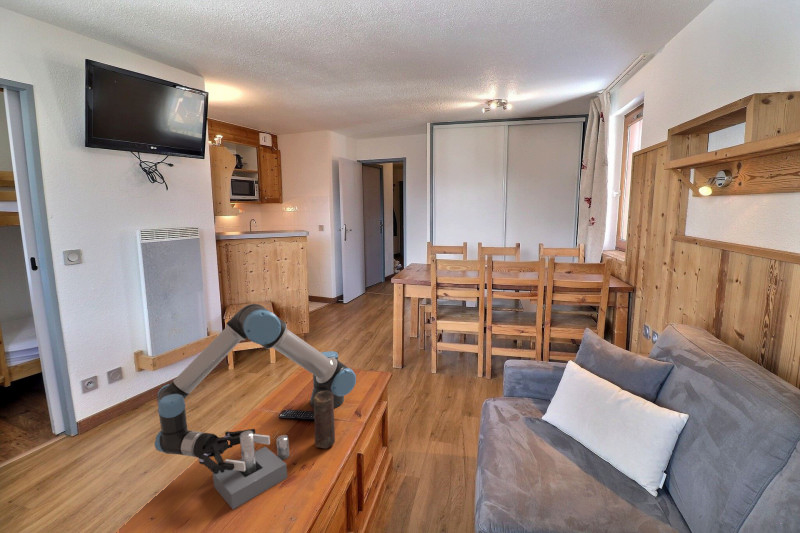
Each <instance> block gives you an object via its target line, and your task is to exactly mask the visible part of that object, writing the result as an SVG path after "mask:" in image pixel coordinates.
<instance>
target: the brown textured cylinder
mask: <svg viewBox="0 0 800 533" xmlns="http://www.w3.org/2000/svg"><path fill="white" fill-rule="evenodd" d="M313 414H314V417H313V418H314V421H313V422H314V445H315V447H317V448H320V449H321V448H322V449H328V448H330V447H331V446H333V445H334V444H335V442H336V430H335V408H334V401H333V393H332V392H330V391H320V392H318V393H317V394H316V395H315V397H314V408H313Z"/></svg>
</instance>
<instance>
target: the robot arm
mask: <svg viewBox="0 0 800 533" xmlns="http://www.w3.org/2000/svg"><path fill="white" fill-rule="evenodd" d="M247 339H248V340H249V341H251V342H252V343H255V344H257V345H259V346H260V347H261V346H262V348H264V349H265V350H269V349H274V350H275V351H277V352H278V353H280V354H282V355H283V356H284V357H286V358H288V359H289V360H290V361H293V362H294V363H295V364H297V365H298V366H300V367H301V368H302V369H304V370H305V371H307V372H309V373H310V374H312V384H313V387H312V388H313V389H312V392H311V396H310V405H311V407H312V408H313V409H314V397H315V395H316V394H317V393H318V392H320V391H330V392H332V393H333V401H334V409H335V408H337V407H340V406H341V405H342V404H343V403H344V401H345V396H346V395H349V394H350V393H351V392H352V391H353V389H354V388H355V386H356V383H357V375H356V373H355V372H354V371H353V369H352V368H349V367H348V366H347V365H345V364H344V363H343V362H341V361H340V360H339V354H338V352H336V351H334V350H333V351H332V350H329V351H327V350H326V351H321V352H320V350H318V349H317V348H315V347H314V346H312V345H310V344H309V343H307V341H305V340H303V339H302V338H301V337H299V336H298V335H297V334H295V333H294V332H292V331H291V330H289V329H288V326H287V323H286V322H285V321H284V320H282V319H281V318H280V317H279V316H277V315H276V314H275V313H274V312H272V311H270V310H268V309H267V308H265V306H263V305H261V304H257V303H250V304H246V305H244V307H242V308H241V309H239V310H238V311H237V312H236V313H235V314H234V315H233V316H232V317H231V318H230V319H229V320H228V321H227V322H226V323H225V327H224V329H222V331H221V332H220V333H219V334H218V335H217V336H216V337H215V338H214V339H213V340H212V341H211V342H210V343H209V344H208V345H207V346H206V347H205V348H204V349H203V350H202V351H201V352H200V353H199V354H198V355H197V357H195V358H194V359H193V360H192V361H191V362H190V363H189V364H188V365H187V366H186V367H185V368H184V370H182V372H180V374H179V375H177V377H176V378H175V379H174V380H172V381H171V383H169V384H166V385H164V386H162V387H161V388H160V389H159V390H158V392H157V397H156V398H157V399H156V402H157V410H158V416H159V422H160V423H159V424H160V430H159V432H158V433H157V434H156V436H155V441H154V448H155V449H156V451H158V452H161V453H165V454H168V455H169V454H170V455H171V454H172V455H181V456H187V457H193V458H197V459H198V462H199V464H200V465H204V467H206V468H208V469H209V471H211V472H212V474H213V473H214V474H218V473H219V471H220V472H221V473H223V472H224V471H225V470H238V471H245V470H246V467H245V462H243V461H237V460H235V459H228V458H226V459H225V460H224V459H223V457H222V454H224V453H225V451H227V450H228V449H230V448H233V447H234V446H236V445H237V446H238V445H240V434H241V433H242V432H245V431H252V432H253V437H254V444H262V445H270V444H271V438H270V435H265V434H262V433H261V434H260V433H256V428H251V429H243V430H238V431H237V430H235V431H225V433H224V435H223V436H221V437H220V436H218V435H216V434H215V433H211V432H210V433H209V432H203V431H194V430H188V420H187V413H186V412H187V411H186V402H185V400H186V399H187V397H188V396H189V395H190V394H191V393H192V391H194V390H195V389H196V387H197V386H199V385H200V383H202V382H203V380H204V379H205V378H206V377H207V376H208V375H210V373H211V372H212V371H213V370H214V369H215V368H216V367H217V366H218V365H219V364H220V363H221V361H223V360H224V359H225V358H226V356H227V355H228V354H229V353H230V352H232V351H233V350H234V349H235V347H237V345H238V344H239V343H240V342H241V341H246V340H247ZM211 457H213V458H214V459H212V458H211ZM214 460H215V461H216V462H215V461H214Z"/></svg>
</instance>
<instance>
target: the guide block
mask: <svg viewBox="0 0 800 533" xmlns="http://www.w3.org/2000/svg"><path fill="white" fill-rule="evenodd" d="M255 459H256V469H257V471H256V472H254V473H253V474H251V475H249V476H247V477H244V475H243V471H238V470H225V471H224V472H223V473H221V472H220V471H219V473H218V474H214V473H213V472H212V481H213V488H214V489H215V490H216V491H217V492H218V493H219V495H220V496H221V498H223V500H224V501H225V503H227V505H229V507H230V508H231V509H232V510H235V509H237V508H238V507H240V506H241V505H243V504H245V503H247V502H249V501H250V500H252V499H254V498H256V497H257V496H259V495H260V494H263V493H264V492H265V491H267V490H269V489H271V488H272V487H274V486H277V484H279V483H281V482H282V481H284V480H286V479H287V478H288V468H287V467H288V466H287V463H286V462H285V461H284V460H281V459H280V458H279V457H278V455H276V454H275V453H274V452H273V451H271V450H270V449H269V448H268V447H266V446H263V447H261V448H260V449H257V450H256V451H255ZM236 461H242V457H241V458H239V459H237V460H236Z"/></svg>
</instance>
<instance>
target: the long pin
mask: <svg viewBox="0 0 800 533" xmlns="http://www.w3.org/2000/svg"><path fill="white" fill-rule="evenodd" d="M239 445H240V452H241V453H240V455H241V458H242V461H243V462H245V467H246V470H245V471H243V475H244V477H247V476H249V475H251V474H253V473H254V472H256V471H257V469H256V459H255V449H256V448H255V443H254V437H253V432H252V431H245V432H242V433H241V434H240V444H239Z"/></svg>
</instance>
